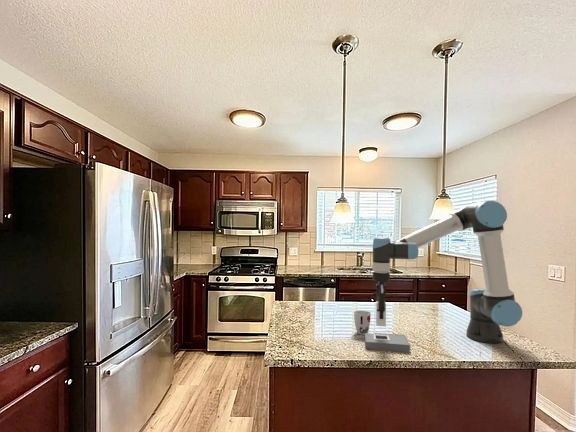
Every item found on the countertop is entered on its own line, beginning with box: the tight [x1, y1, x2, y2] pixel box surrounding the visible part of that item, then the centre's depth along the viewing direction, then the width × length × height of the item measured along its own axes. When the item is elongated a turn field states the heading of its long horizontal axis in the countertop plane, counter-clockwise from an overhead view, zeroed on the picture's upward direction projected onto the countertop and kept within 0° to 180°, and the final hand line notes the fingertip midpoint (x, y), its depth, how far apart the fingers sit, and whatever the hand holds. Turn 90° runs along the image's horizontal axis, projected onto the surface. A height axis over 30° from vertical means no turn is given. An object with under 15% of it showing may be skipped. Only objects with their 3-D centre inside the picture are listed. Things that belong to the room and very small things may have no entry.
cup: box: [353, 310, 372, 336], centre depth 164 cm, size 8×8×10 cm
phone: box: [374, 332, 406, 336], centre depth 157 cm, size 14×7×1 cm, turn 79°
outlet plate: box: [364, 332, 411, 353], centre depth 146 cm, size 18×12×3 cm, turn 79°
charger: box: [375, 300, 387, 327], centre depth 148 cm, size 4×4×10 cm
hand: (380, 324), depth 147 cm, fingers closed on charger, 4 cm apart
